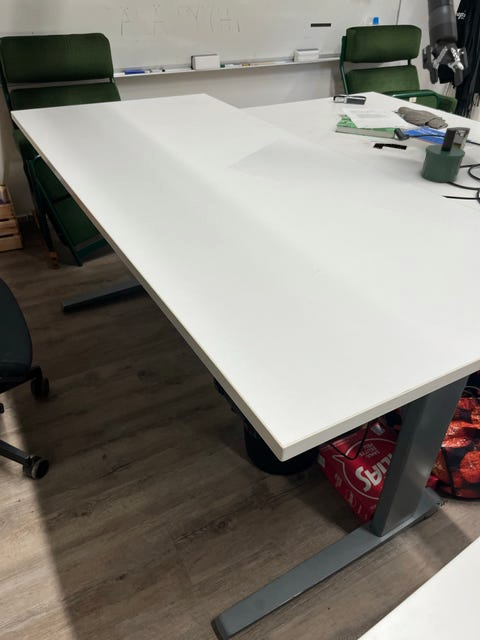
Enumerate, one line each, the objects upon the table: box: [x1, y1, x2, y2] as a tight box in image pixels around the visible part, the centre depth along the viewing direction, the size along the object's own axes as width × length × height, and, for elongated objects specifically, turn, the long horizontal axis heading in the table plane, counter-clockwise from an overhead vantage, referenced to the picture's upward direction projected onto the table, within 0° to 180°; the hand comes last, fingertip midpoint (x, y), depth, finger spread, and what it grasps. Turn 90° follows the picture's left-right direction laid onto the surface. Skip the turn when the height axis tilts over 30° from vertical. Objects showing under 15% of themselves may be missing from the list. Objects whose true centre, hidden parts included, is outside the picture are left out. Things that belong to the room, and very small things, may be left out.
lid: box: [425, 127, 466, 158], centre depth 141 cm, size 11×11×7 cm
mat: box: [372, 142, 408, 151], centre depth 170 cm, size 11×11×1 cm
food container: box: [452, 126, 471, 150], centre depth 155 cm, size 12×6×10 cm, turn 149°
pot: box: [420, 151, 464, 184], centre depth 145 cm, size 10×10×7 cm
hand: (446, 83), depth 142 cm, fingers open, 8 cm apart
